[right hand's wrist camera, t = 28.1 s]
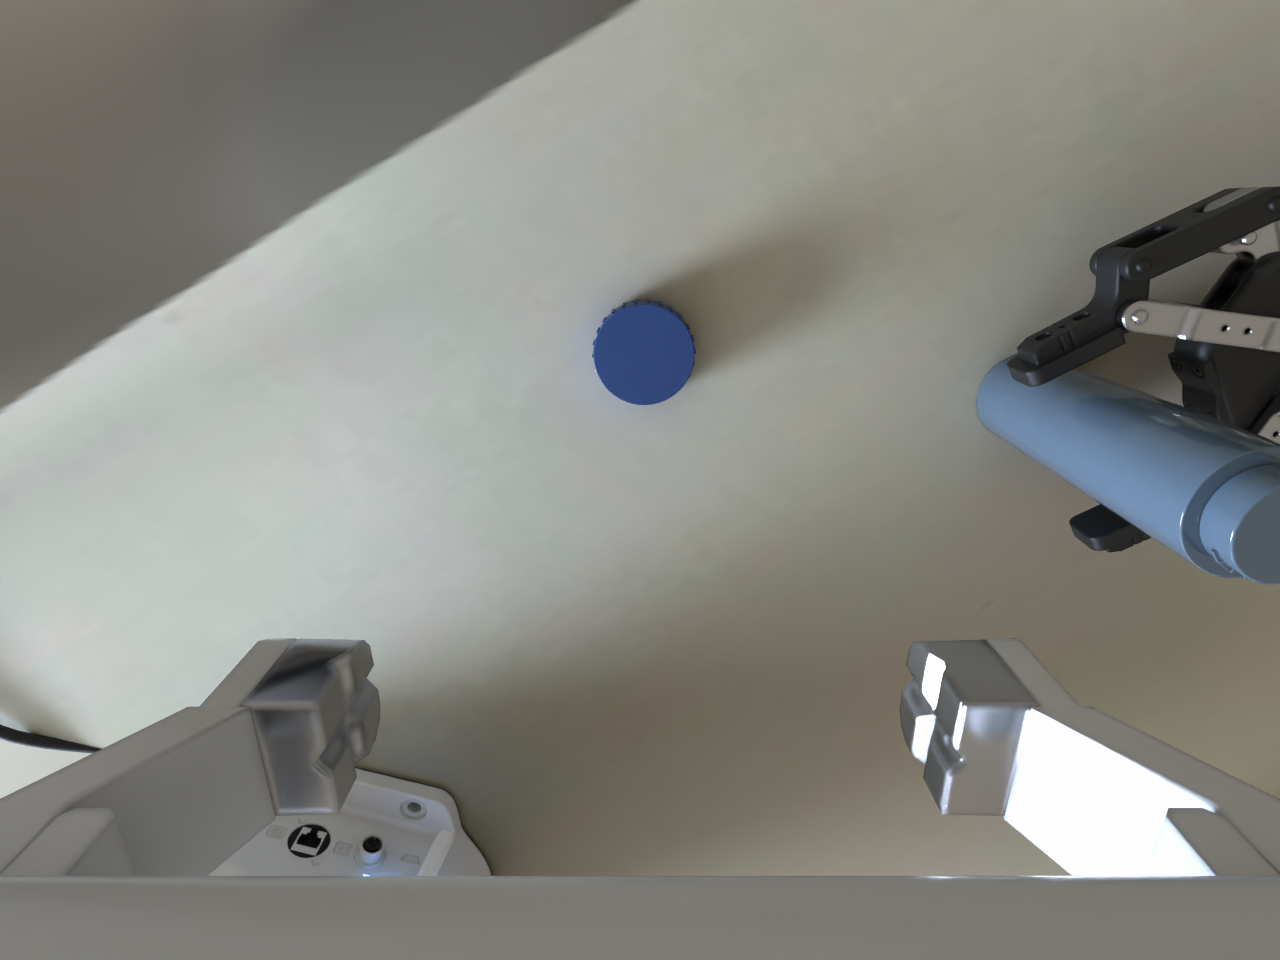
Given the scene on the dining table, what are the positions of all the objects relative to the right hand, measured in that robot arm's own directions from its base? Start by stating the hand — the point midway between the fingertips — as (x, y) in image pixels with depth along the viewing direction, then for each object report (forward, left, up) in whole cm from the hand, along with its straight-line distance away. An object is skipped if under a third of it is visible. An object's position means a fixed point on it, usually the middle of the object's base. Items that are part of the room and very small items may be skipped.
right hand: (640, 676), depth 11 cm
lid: (0, 0, -25) cm, 25 cm away
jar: (+18, +7, -26) cm, 33 cm away
